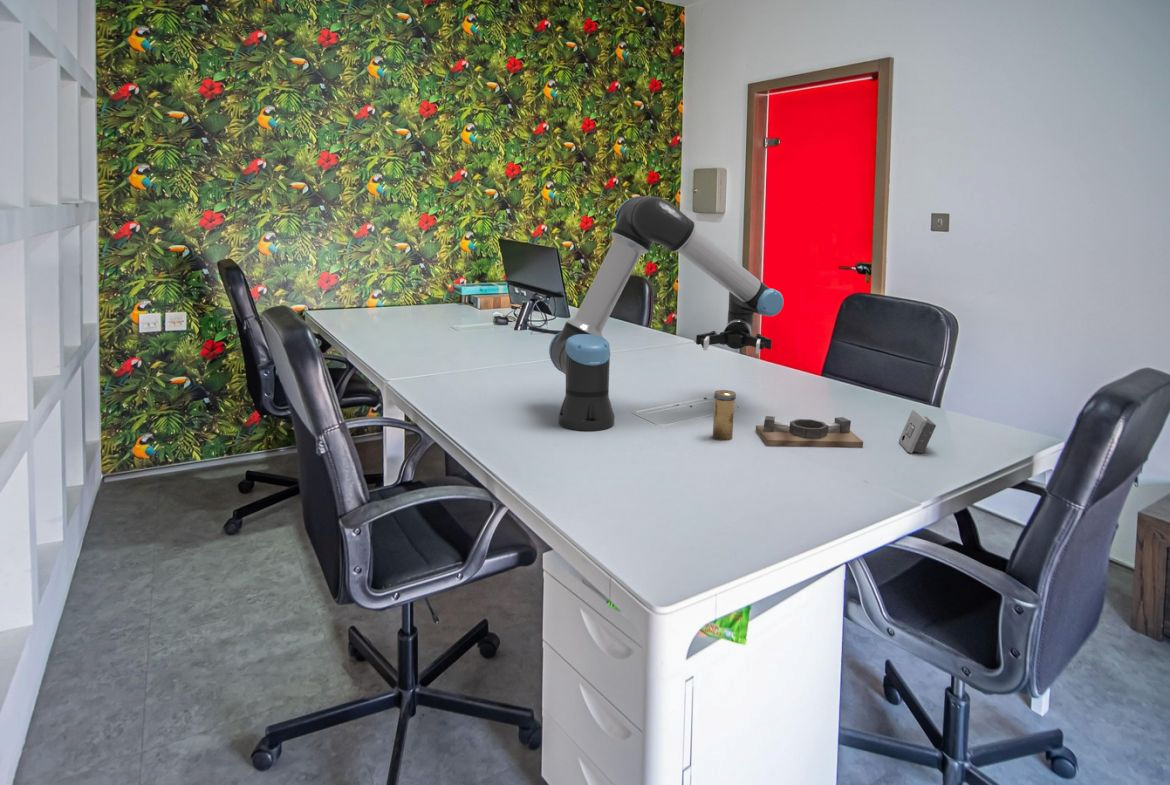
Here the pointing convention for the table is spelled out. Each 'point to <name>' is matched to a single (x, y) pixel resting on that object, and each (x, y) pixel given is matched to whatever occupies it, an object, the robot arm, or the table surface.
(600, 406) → the robot arm
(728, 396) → the brass cylinder
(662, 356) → the table surface
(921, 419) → the electrical switch
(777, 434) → the base
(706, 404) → the table surface
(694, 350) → the table surface
